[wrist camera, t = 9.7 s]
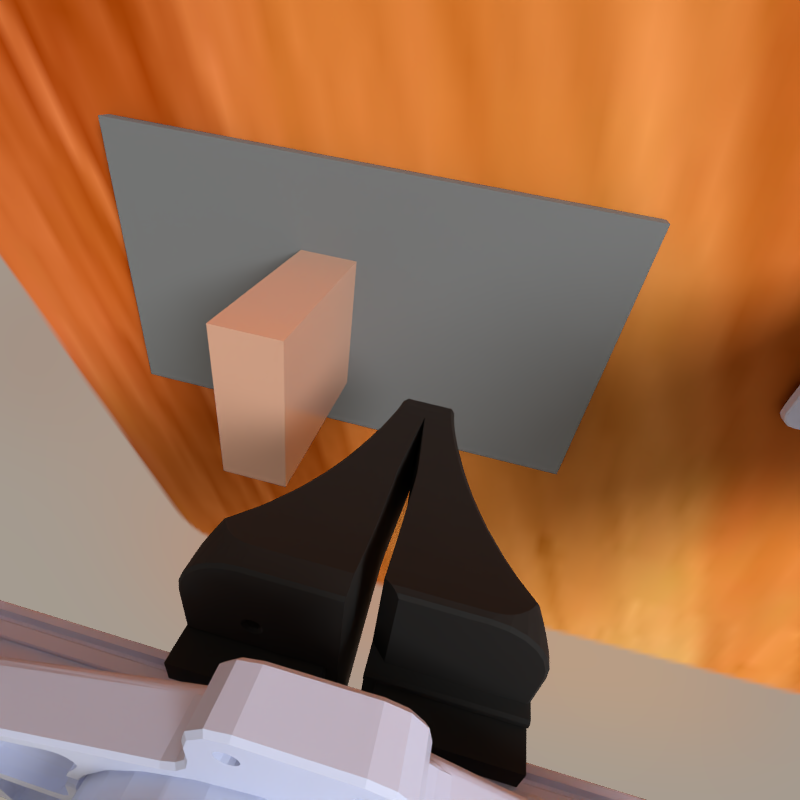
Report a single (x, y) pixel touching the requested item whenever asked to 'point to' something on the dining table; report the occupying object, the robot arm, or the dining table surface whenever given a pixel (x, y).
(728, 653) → the dining table surface
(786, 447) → the dining table surface
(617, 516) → the dining table surface
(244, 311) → the tile
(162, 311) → the mat
